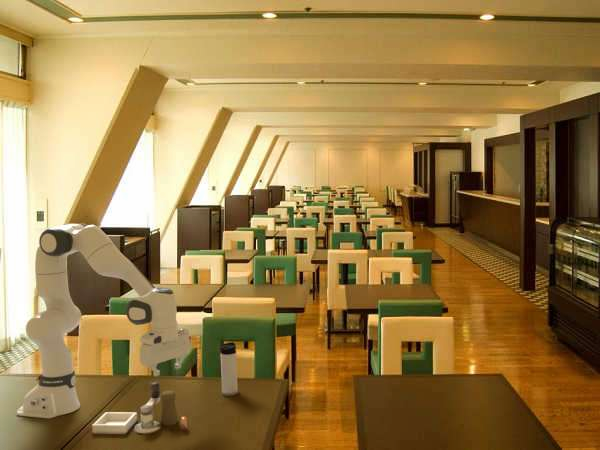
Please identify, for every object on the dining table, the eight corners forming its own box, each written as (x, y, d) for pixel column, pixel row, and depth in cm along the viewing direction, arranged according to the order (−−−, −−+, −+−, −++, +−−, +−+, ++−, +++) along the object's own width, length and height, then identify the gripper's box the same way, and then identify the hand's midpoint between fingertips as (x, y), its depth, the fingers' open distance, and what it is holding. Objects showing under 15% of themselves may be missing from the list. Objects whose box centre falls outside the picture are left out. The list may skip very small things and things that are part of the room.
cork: (174, 425, 224) (172, 395, 223) (158, 424, 225) (156, 394, 224) (180, 418, 230) (179, 389, 229) (165, 418, 231) (163, 388, 230)
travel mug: (241, 391, 256) (239, 342, 254) (232, 396, 250) (230, 347, 248) (227, 389, 259) (225, 341, 257) (219, 394, 253) (216, 345, 251)
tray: (92, 433, 219) (92, 425, 219) (106, 420, 230) (105, 412, 230) (125, 433, 218) (124, 425, 217) (137, 420, 229) (136, 412, 229)
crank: (150, 414, 219) (149, 395, 219) (139, 414, 220) (138, 395, 219) (162, 400, 233) (161, 382, 232) (151, 400, 233) (151, 382, 232)
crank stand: (130, 433, 218) (129, 418, 217) (139, 423, 227) (138, 408, 226) (183, 434, 216) (182, 418, 216) (190, 423, 225) (189, 408, 224)
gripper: (182, 326, 234) (184, 362, 236) (136, 339, 219) (138, 378, 220) (193, 328, 230) (195, 365, 232) (147, 341, 215) (149, 381, 216)
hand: (167, 371), depth 226 cm, fingers open, 8 cm apart
